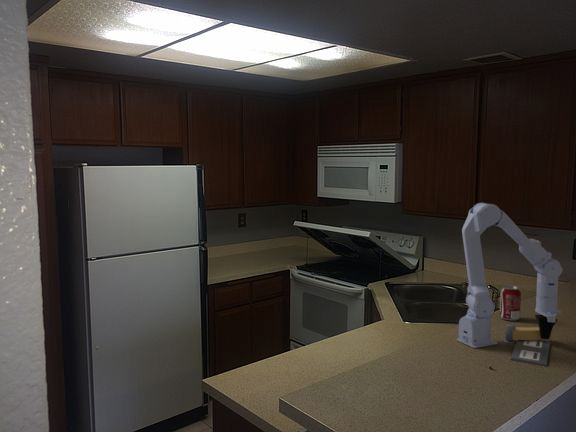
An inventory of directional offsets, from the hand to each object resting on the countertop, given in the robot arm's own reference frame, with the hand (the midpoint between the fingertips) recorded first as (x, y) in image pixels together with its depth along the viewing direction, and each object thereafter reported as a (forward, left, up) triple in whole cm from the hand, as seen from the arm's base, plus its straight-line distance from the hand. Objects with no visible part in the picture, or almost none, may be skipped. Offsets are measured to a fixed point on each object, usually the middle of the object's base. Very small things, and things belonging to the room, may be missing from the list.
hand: (544, 338), depth 149 cm
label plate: (-9, -2, -2) cm, 10 cm away
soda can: (+13, +25, -2) cm, 28 cm away
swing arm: (-3, +4, -1) cm, 5 cm away
